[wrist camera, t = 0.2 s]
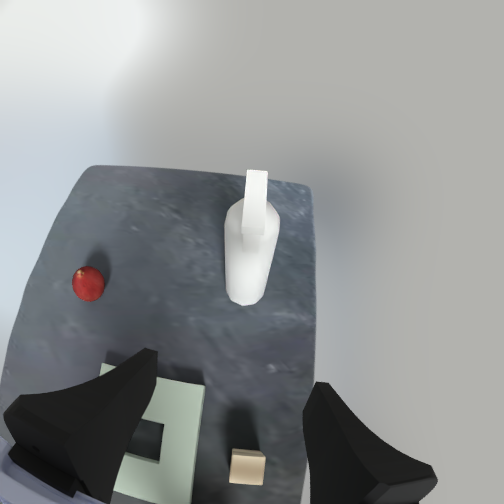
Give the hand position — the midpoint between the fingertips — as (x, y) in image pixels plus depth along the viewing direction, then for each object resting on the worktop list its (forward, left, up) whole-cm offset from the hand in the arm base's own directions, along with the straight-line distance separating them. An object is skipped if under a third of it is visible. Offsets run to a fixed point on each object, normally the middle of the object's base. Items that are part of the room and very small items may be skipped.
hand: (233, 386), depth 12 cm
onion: (+14, +26, -31) cm, 43 cm away
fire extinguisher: (+20, 0, -31) cm, 37 cm away
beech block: (-9, -3, -31) cm, 32 cm away
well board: (-8, +12, -31) cm, 34 cm away
